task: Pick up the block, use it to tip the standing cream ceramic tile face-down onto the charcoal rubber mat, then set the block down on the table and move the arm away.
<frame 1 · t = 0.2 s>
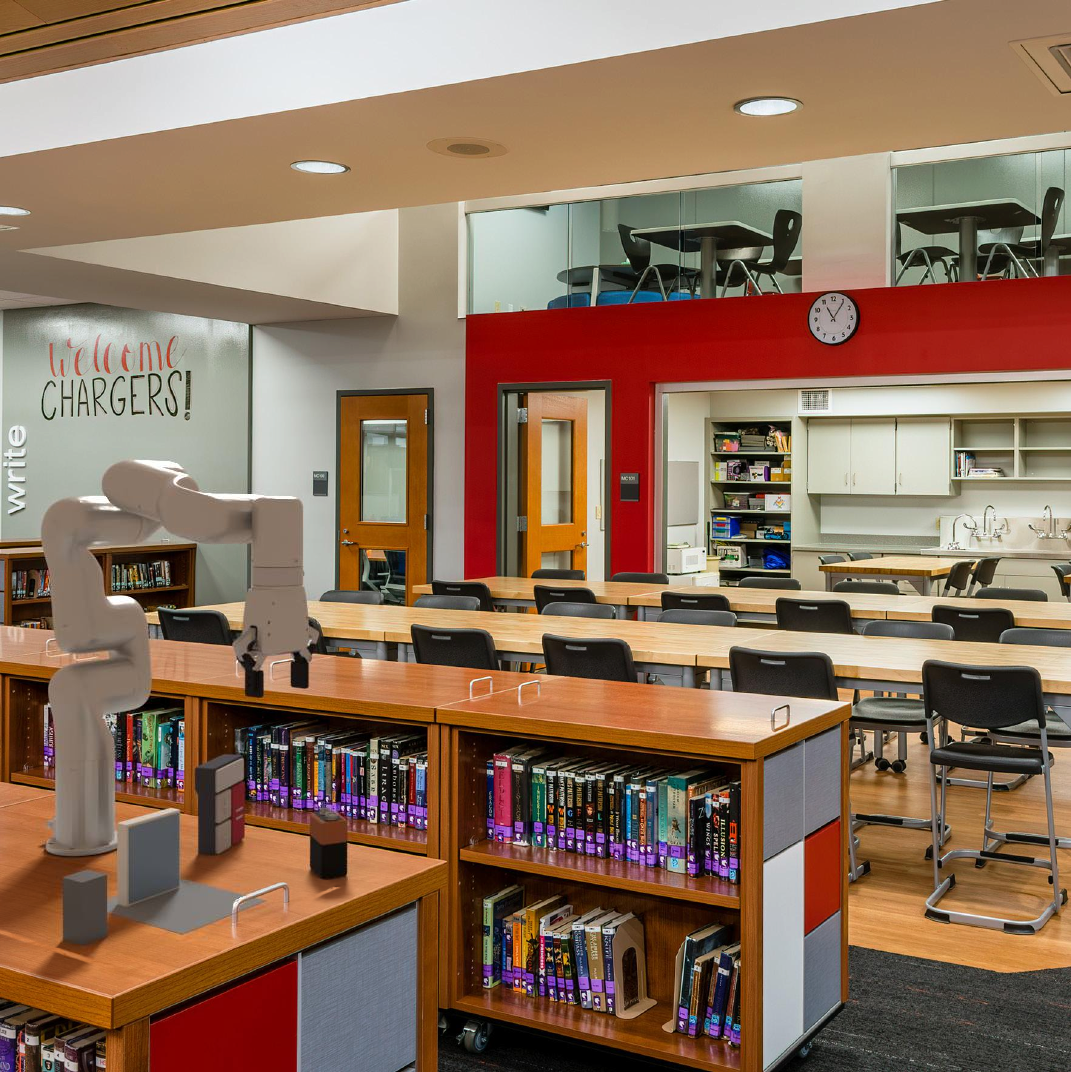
hand: (277, 692, 177), 31 cm above the table, tool pointing down, fingers open, 9 cm apart
block: (85, 941, 159), on the table
tile: (149, 895, 176), on the table, touching mat
mat: (177, 906, 173), on the table
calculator: (221, 849, 202), on the table
battery: (328, 873, 189), on the table
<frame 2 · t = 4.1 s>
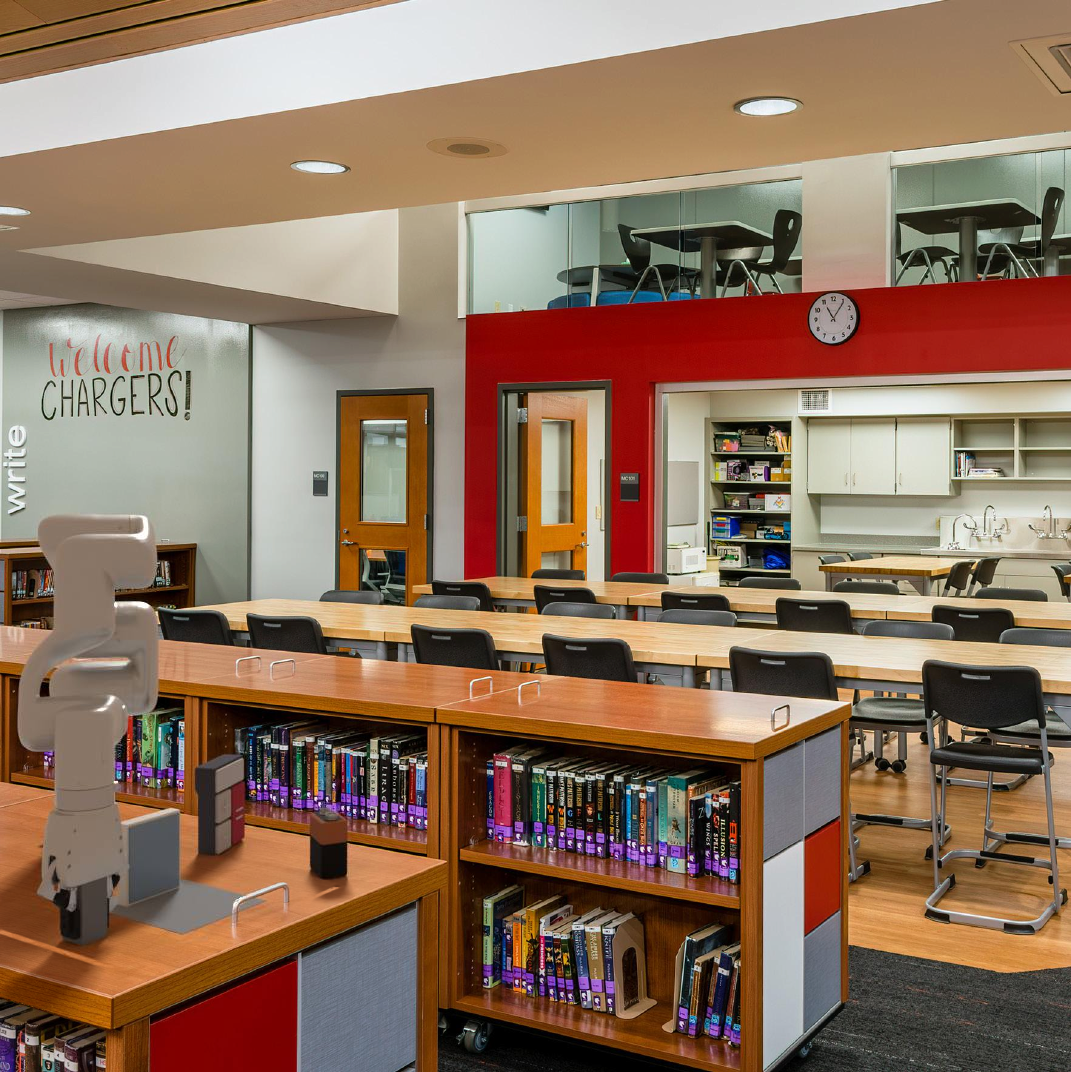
hand: (85, 930, 159), 2 cm above the table, tool pointing down, fingers closed on block, 4 cm apart
block: (85, 941, 159), on the table, touching gripper
everything else where it was.
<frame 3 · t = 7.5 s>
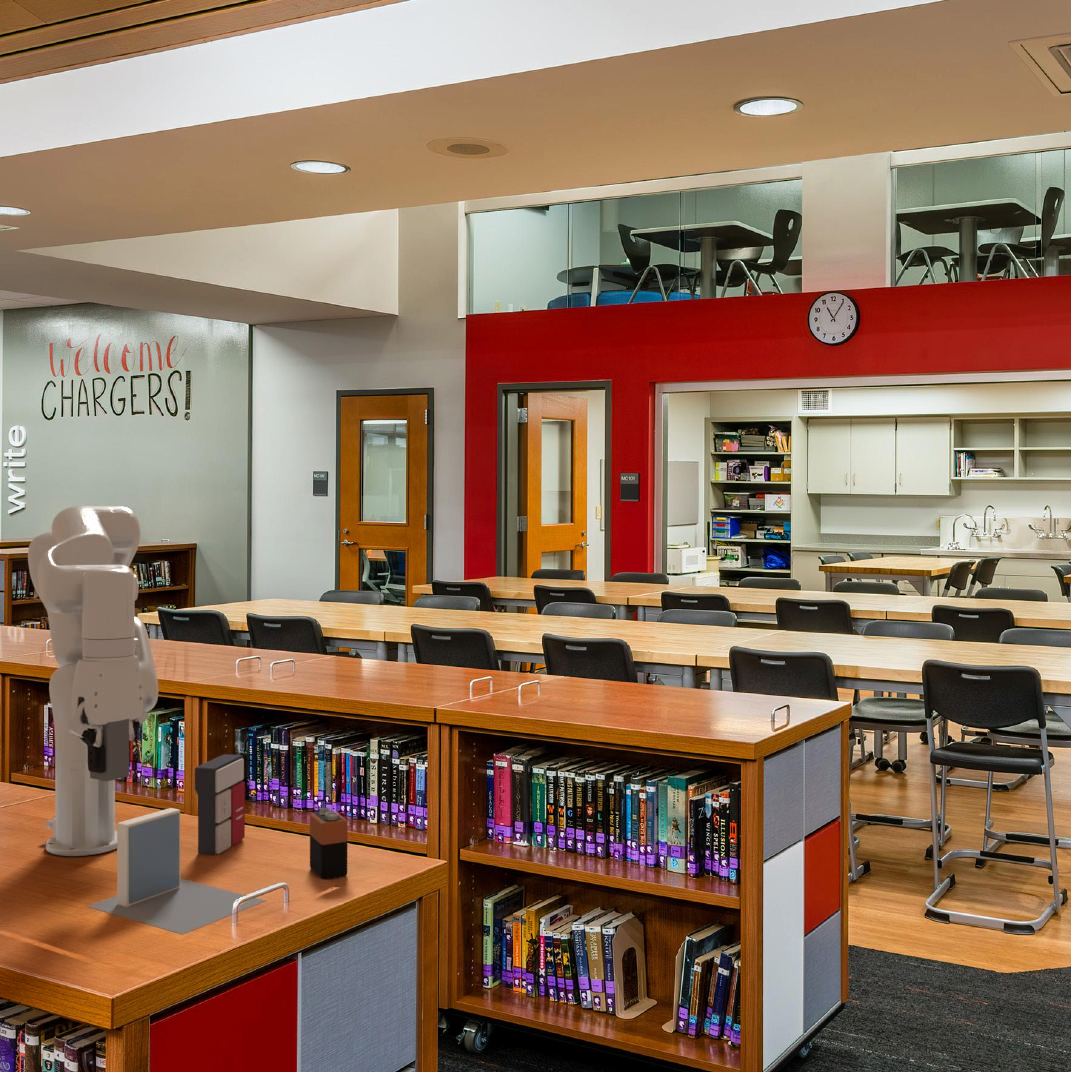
hand: (109, 767, 180), 19 cm above the table, tool pointing down, fingers closed on block, 4 cm apart
block: (109, 777, 180), point 17 cm above the table, touching gripper
everything else where it was.
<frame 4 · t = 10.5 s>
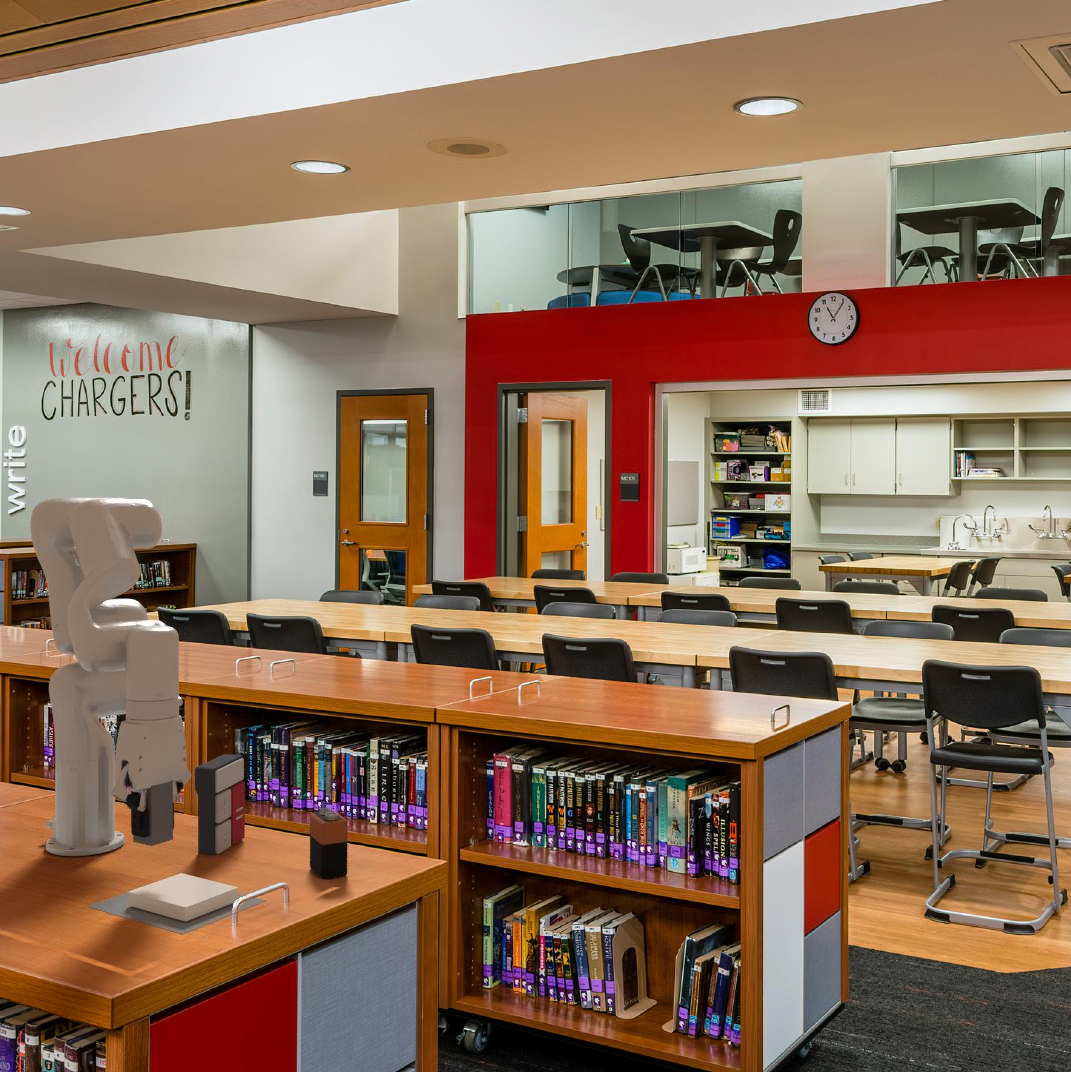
hand: (152, 830, 175), 10 cm above the table, tool pointing down, fingers closed on block, 4 cm apart
block: (153, 840, 175), point 9 cm above the table, touching gripper
tile: (155, 888, 175), point 2 cm above the table, tilted 90°, touching mat
everything else where it was.
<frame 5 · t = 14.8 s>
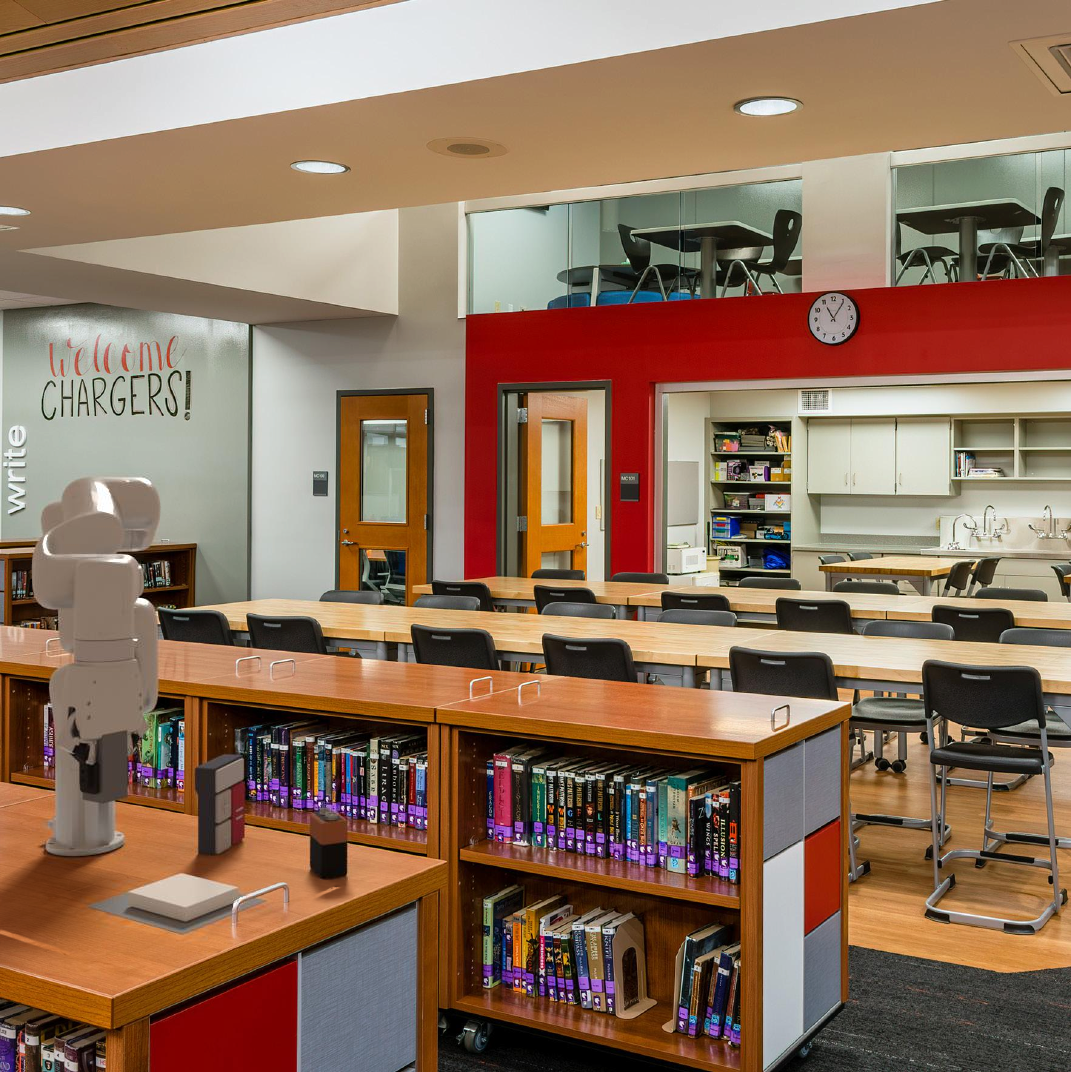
hand: (104, 787, 156), 22 cm above the table, tool pointing down, fingers closed on block, 4 cm apart
block: (105, 798, 156), point 20 cm above the table, touching gripper
everything else where it was.
when the fingers open (3 cm above the table, at t = 18.3 s): block drops 2 cm, on the table.
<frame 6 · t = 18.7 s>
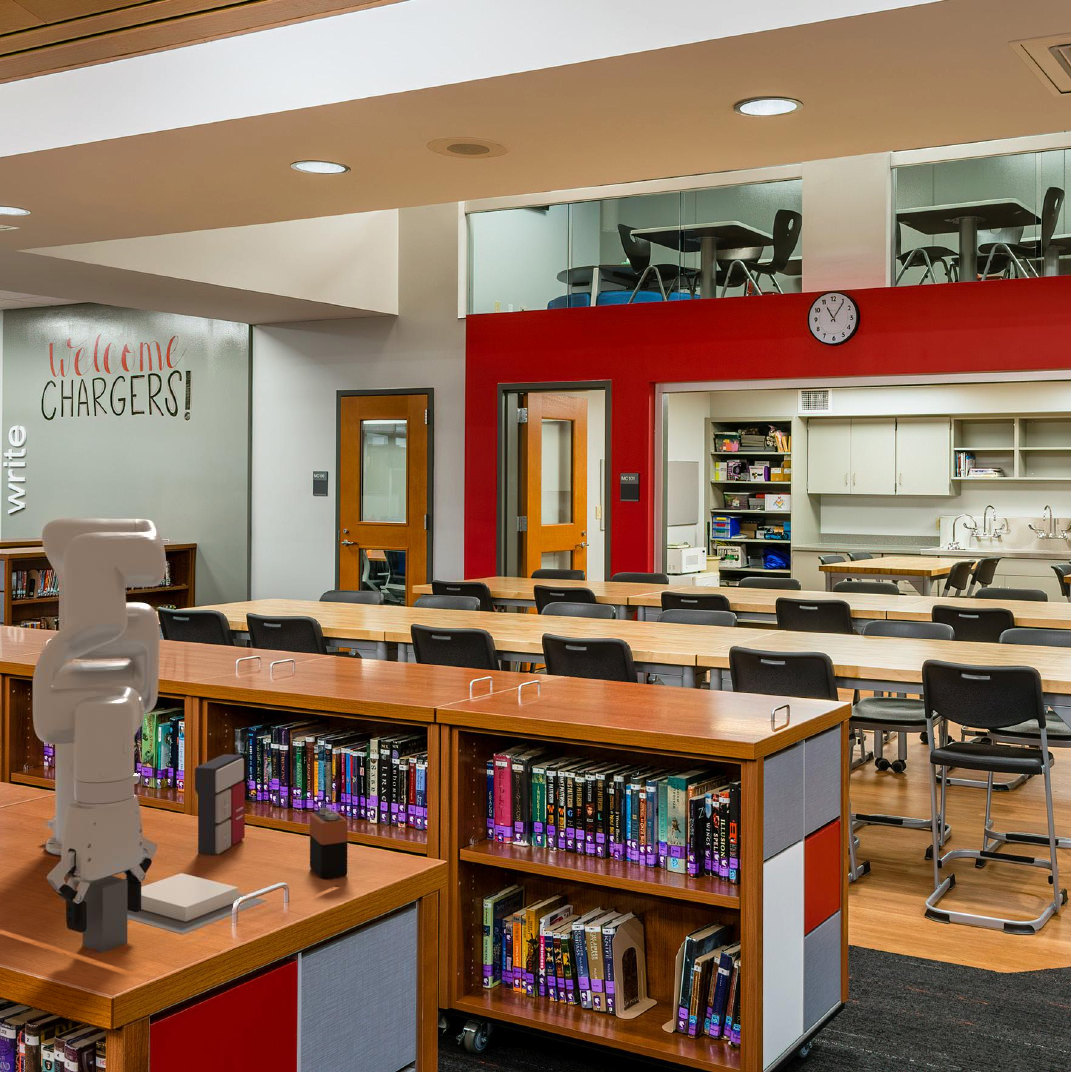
hand: (104, 919, 157), 4 cm above the table, tool pointing down, fingers open, 8 cm apart
block: (105, 947, 157), on the table
everything else where it was.
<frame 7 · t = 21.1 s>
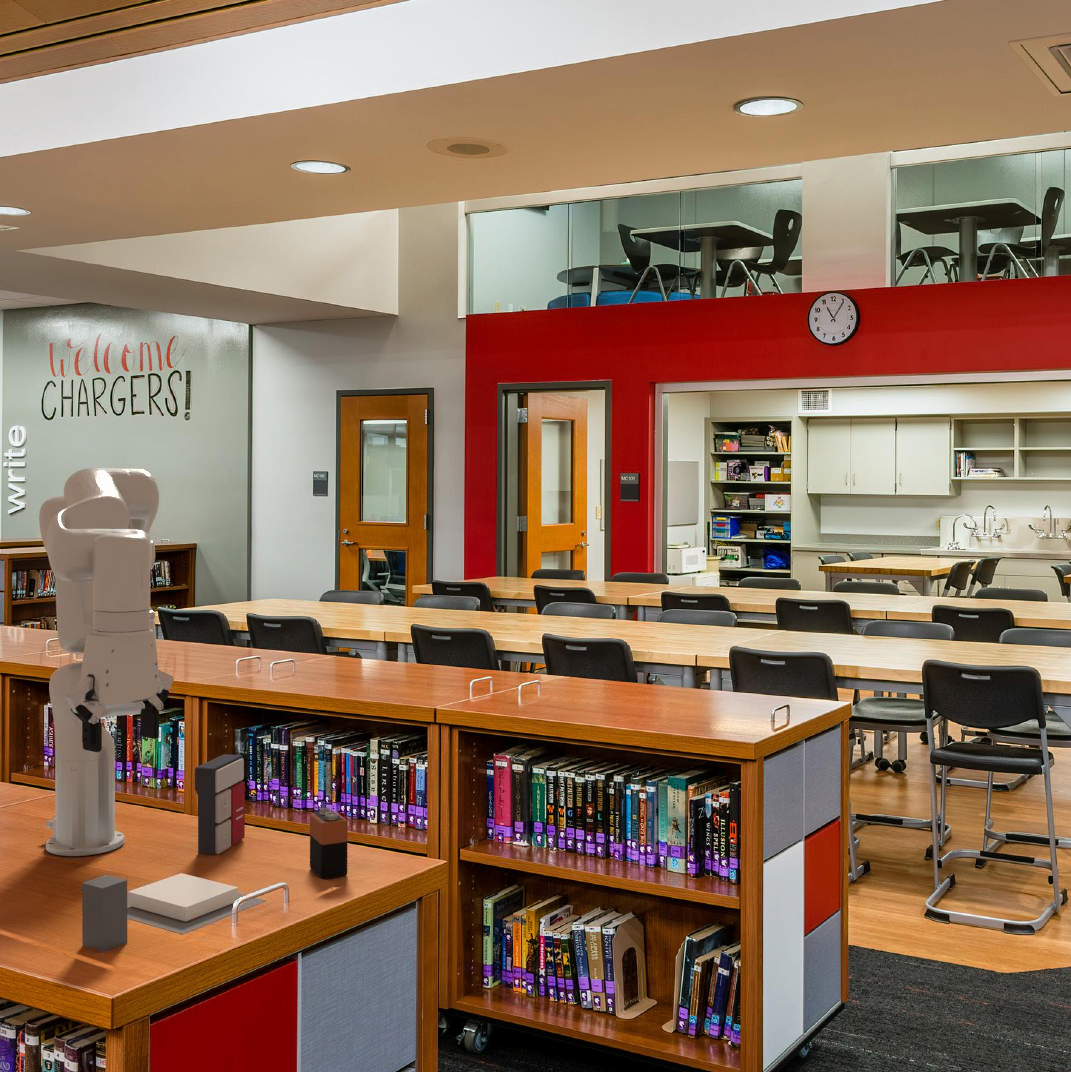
hand: (121, 743, 165), 26 cm above the table, tool pointing down, fingers open, 9 cm apart
nothing on the table moved.
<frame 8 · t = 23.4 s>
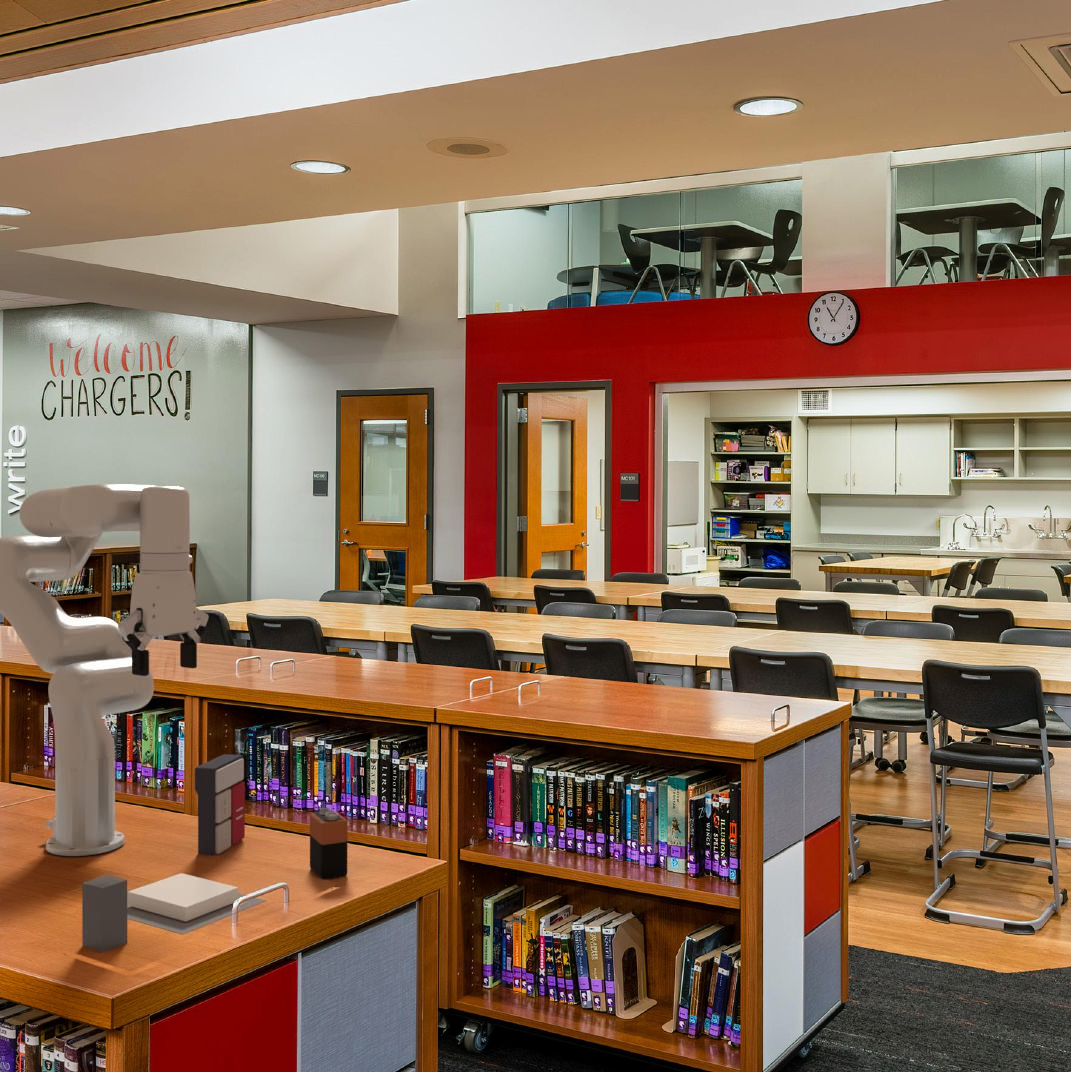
hand: (164, 671, 188), 32 cm above the table, tool pointing down, fingers open, 9 cm apart
nothing on the table moved.
at the end: tile tilted 90°; tile touching mat; block touching table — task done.
